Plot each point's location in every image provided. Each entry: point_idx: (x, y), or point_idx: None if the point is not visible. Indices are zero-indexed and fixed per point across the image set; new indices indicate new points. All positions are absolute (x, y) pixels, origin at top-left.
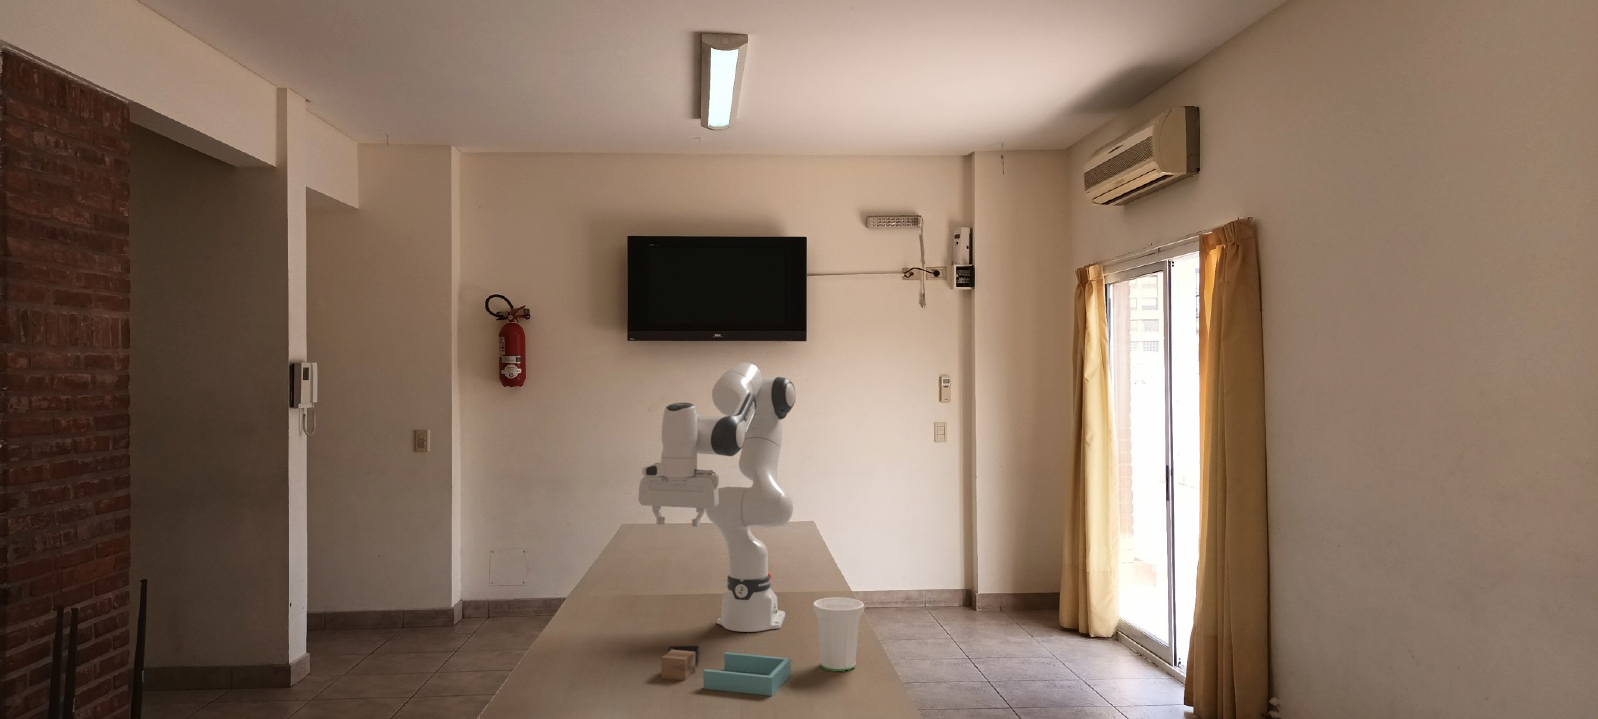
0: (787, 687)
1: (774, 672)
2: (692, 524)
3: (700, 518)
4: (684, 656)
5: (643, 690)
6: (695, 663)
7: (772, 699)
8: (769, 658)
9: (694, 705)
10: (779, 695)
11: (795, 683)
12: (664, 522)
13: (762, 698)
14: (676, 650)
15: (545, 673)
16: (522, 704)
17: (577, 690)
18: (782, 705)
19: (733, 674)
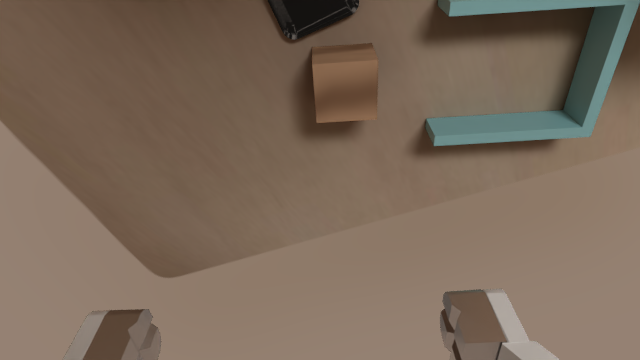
0: None
1: (595, 105)
2: (449, 341)
3: (536, 349)
4: (366, 102)
5: (318, 170)
6: (356, 5)
7: None
8: (580, 6)
9: (435, 197)
10: None
11: None
12: (142, 316)
13: None
14: (326, 67)
15: (84, 157)
16: (179, 266)
17: (210, 204)
18: (592, 153)
19: (502, 141)
